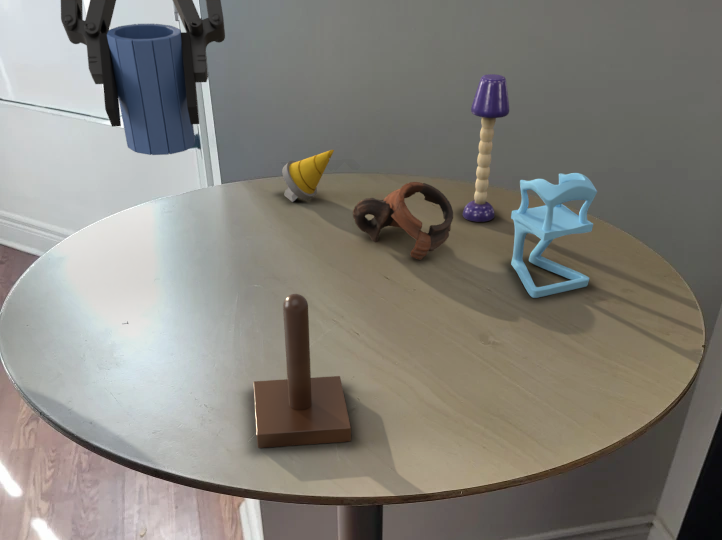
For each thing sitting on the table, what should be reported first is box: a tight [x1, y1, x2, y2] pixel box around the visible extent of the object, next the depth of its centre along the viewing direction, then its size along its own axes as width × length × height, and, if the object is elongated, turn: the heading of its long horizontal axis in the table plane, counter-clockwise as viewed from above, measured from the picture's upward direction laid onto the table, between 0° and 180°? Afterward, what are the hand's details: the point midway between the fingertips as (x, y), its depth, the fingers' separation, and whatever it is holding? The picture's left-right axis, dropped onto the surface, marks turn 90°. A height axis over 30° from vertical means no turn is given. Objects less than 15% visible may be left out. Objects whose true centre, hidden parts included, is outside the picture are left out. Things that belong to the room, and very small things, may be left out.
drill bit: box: [281, 149, 335, 203], centre depth 104 cm, size 5×5×10 cm
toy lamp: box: [462, 73, 510, 223], centre depth 98 cm, size 5×5×17 cm
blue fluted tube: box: [107, 23, 196, 156], centre depth 68 cm, size 6×6×9 cm
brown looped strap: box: [352, 181, 454, 261], centre depth 94 cm, size 12×10×8 cm
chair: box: [510, 172, 598, 299], centre depth 87 cm, size 8×8×12 cm
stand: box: [252, 293, 352, 449], centre depth 66 cm, size 8×8×12 cm
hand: (153, 116), depth 66 cm, fingers closed on blue fluted tube, 6 cm apart
